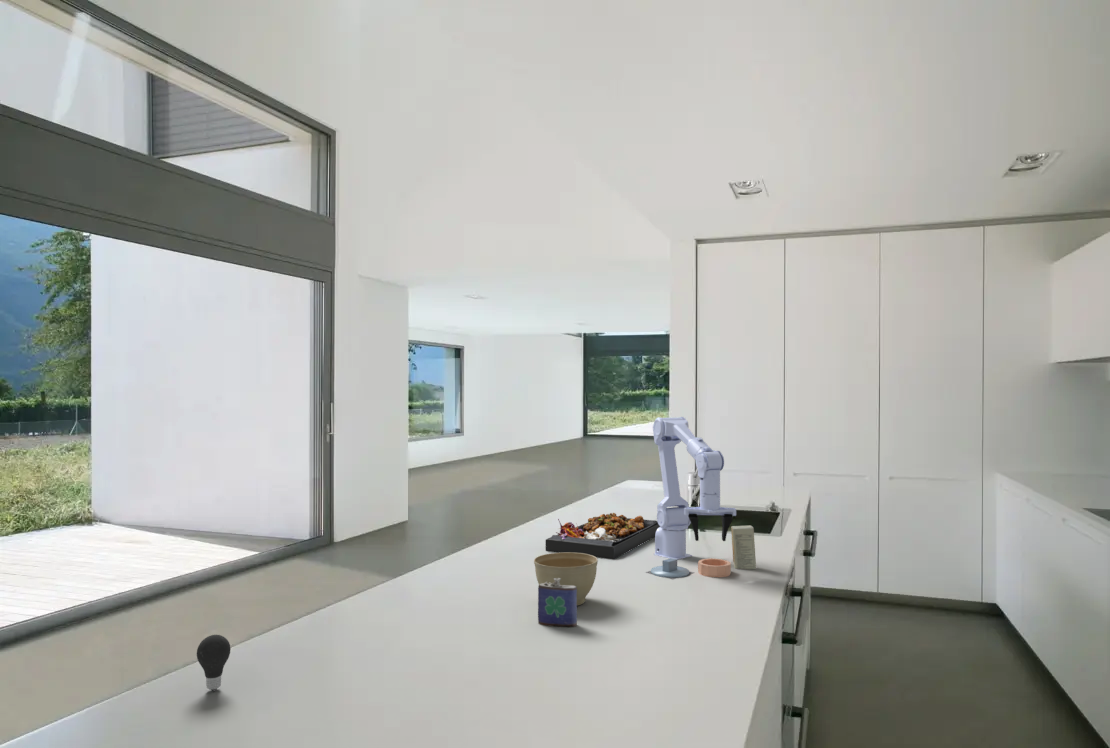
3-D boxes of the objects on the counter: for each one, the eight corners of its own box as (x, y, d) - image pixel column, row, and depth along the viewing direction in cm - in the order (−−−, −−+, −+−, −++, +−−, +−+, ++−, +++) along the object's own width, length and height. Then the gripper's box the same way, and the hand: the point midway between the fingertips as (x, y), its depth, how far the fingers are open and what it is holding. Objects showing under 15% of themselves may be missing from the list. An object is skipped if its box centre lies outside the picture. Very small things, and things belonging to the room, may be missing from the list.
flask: (578, 624, 168) (577, 577, 168) (575, 628, 165) (574, 581, 166) (539, 620, 171) (539, 575, 171) (536, 625, 168) (535, 578, 168)
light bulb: (203, 684, 136) (203, 630, 136) (235, 683, 136) (235, 629, 136) (191, 697, 130) (191, 641, 130) (224, 696, 131) (223, 640, 131)
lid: (642, 572, 211) (642, 559, 212) (667, 565, 219) (667, 553, 219) (672, 579, 203) (672, 567, 203) (697, 572, 211) (697, 560, 211)
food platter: (614, 561, 229) (613, 528, 229) (545, 552, 240) (545, 521, 240) (663, 534, 268) (663, 506, 268) (602, 527, 280) (602, 500, 280)
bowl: (692, 574, 211) (692, 562, 211) (710, 568, 217) (710, 556, 217) (718, 580, 204) (718, 568, 204) (736, 574, 210) (736, 562, 210)
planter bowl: (607, 597, 189) (606, 555, 189) (583, 615, 174) (582, 569, 174) (550, 589, 196) (550, 549, 196) (523, 607, 181) (522, 563, 181)
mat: (645, 573, 211) (645, 572, 211) (667, 567, 218) (667, 566, 218) (672, 580, 204) (672, 579, 204) (694, 574, 211) (694, 572, 211)
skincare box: (754, 565, 219) (752, 524, 219) (756, 569, 214) (754, 527, 215) (732, 566, 219) (730, 525, 220) (734, 569, 215) (732, 528, 215)
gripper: (686, 495, 207) (686, 543, 207) (738, 495, 207) (738, 543, 206) (683, 491, 215) (683, 537, 214) (733, 491, 214) (733, 538, 214)
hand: (710, 540), depth 211 cm, fingers open, 7 cm apart
